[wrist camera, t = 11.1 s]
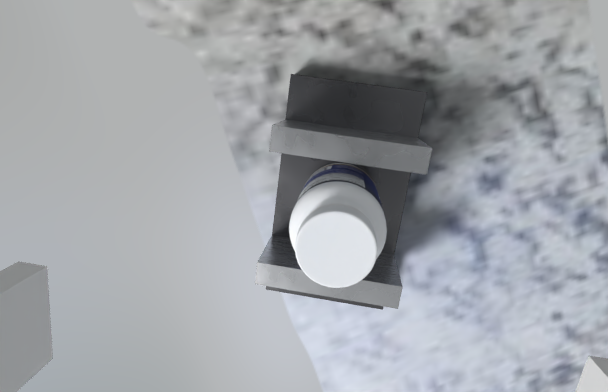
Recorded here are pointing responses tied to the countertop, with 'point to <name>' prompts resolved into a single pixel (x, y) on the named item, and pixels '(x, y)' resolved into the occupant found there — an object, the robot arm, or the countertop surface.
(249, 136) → the countertop surface
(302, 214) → the pill bottle
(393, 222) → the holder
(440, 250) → the countertop surface
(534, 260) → the countertop surface
